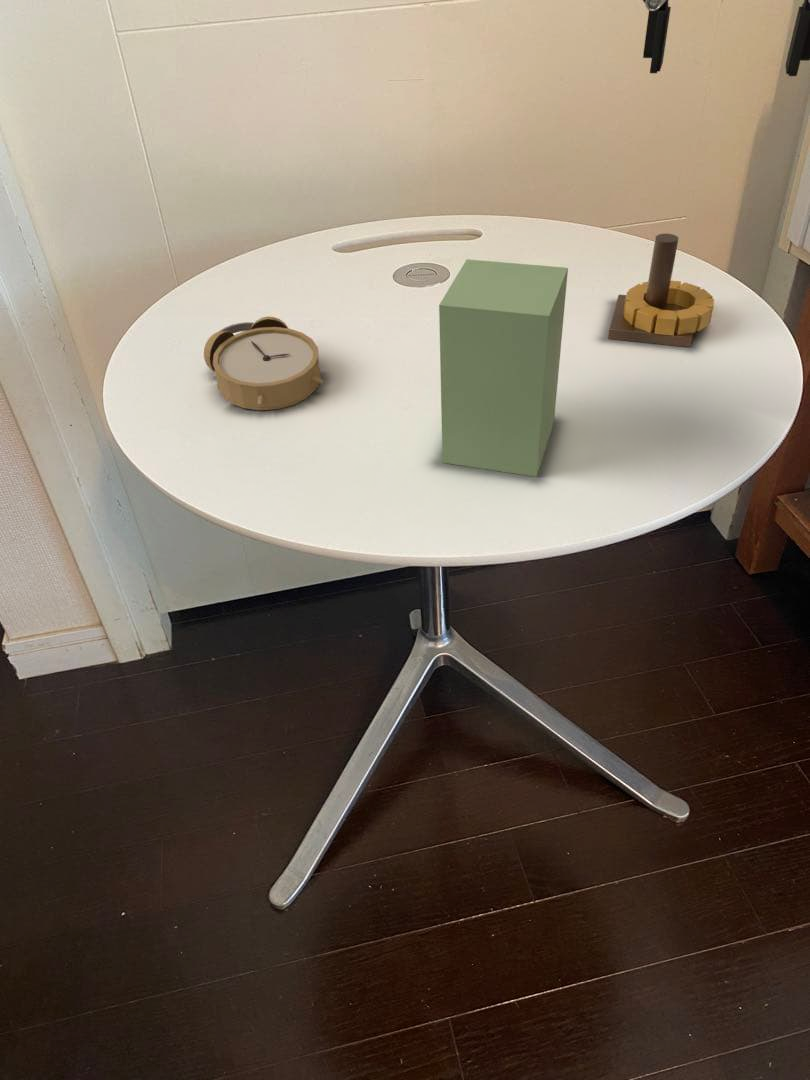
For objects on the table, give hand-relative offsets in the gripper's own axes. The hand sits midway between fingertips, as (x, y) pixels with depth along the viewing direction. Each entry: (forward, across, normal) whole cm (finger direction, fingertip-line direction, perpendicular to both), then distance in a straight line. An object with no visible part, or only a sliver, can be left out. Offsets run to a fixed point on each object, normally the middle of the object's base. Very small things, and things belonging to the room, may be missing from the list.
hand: (721, 70), depth 61 cm
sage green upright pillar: (+30, +14, +9) cm, 35 cm away
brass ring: (+28, +1, -18) cm, 33 cm away
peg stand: (+30, +2, -18) cm, 35 cm away
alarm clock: (+30, +42, +3) cm, 52 cm away
